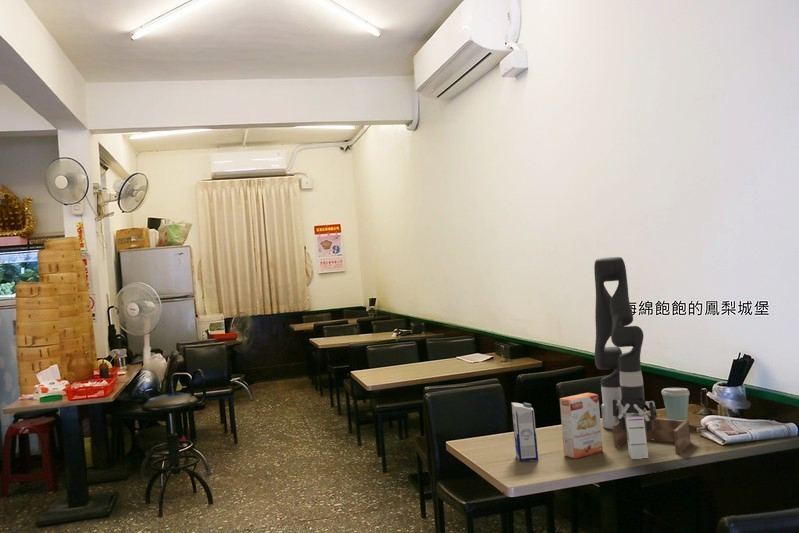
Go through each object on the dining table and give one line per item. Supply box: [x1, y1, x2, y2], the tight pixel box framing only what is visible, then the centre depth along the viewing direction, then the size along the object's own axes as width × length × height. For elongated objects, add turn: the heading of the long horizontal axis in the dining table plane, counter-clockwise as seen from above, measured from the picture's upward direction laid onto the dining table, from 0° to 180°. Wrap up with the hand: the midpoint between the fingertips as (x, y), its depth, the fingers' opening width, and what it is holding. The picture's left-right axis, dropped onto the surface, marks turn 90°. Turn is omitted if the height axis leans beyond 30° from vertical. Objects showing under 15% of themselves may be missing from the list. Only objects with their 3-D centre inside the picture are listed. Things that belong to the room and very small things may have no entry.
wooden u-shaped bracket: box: [612, 417, 691, 455], centre depth 214 cm, size 22×15×8 cm
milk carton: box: [511, 402, 539, 462], centre depth 211 cm, size 7×7×20 cm
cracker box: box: [559, 392, 604, 460], centre depth 211 cm, size 14×6×21 cm, turn 117°
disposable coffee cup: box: [661, 387, 691, 421], centre depth 238 cm, size 11×11×15 cm
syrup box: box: [625, 412, 649, 460], centre depth 202 cm, size 6×6×14 cm
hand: (635, 430), depth 202 cm, fingers open, 8 cm apart
